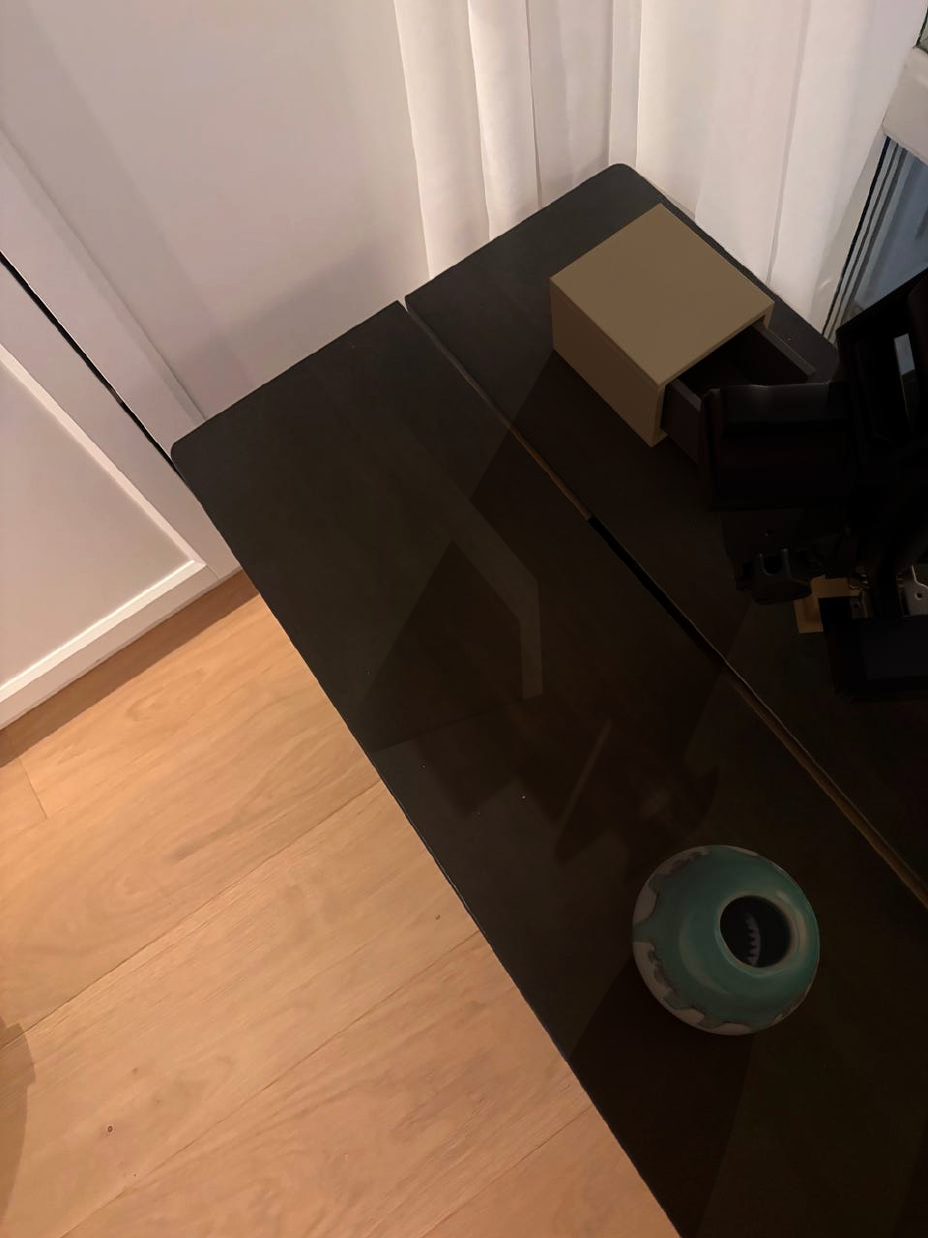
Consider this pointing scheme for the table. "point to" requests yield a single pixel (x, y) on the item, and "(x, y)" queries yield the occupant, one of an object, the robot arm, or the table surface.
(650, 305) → the beige drawer cabinet
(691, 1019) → the vase
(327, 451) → the table surface
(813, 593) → the block
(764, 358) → the pull-out drawer box
